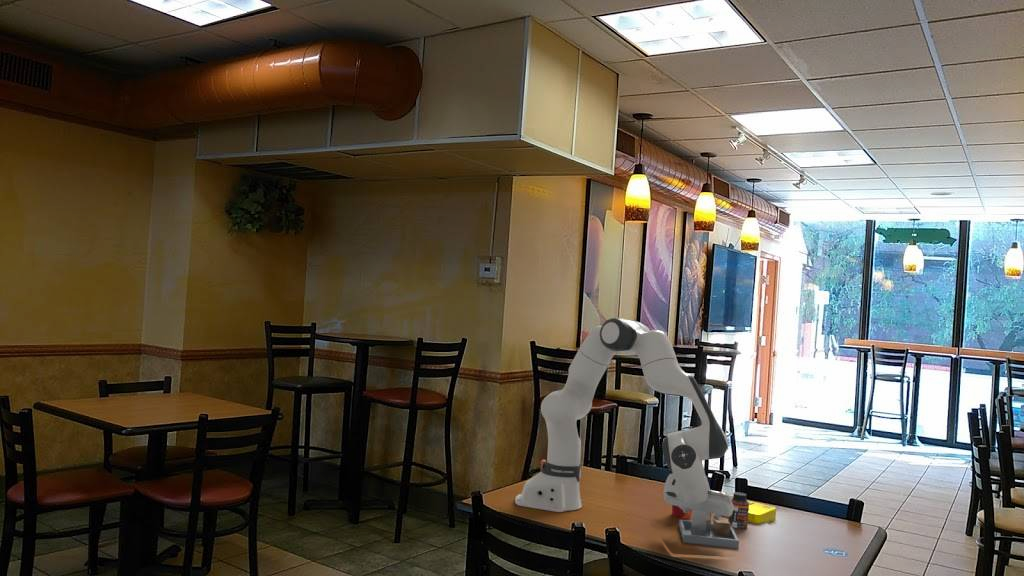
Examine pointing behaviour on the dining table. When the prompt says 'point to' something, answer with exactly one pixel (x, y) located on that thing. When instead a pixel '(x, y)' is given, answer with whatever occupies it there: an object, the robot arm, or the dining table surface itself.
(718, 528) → the walnut block
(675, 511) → the coffee cup
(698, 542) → the tray
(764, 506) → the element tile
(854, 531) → the dining table surface
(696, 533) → the steel part
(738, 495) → the supplement bottle
